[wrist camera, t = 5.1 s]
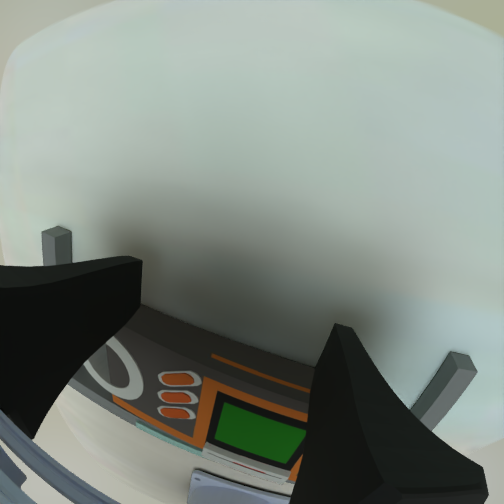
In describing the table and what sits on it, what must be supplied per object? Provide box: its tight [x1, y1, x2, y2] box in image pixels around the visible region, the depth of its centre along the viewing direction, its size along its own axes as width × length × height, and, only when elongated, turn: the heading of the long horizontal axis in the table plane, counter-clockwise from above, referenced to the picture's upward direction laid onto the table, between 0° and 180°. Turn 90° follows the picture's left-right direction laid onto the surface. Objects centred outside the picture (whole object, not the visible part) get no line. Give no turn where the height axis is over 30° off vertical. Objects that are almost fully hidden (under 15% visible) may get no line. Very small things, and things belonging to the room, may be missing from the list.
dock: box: [42, 226, 477, 484], centre depth 13 cm, size 10×21×2 cm, turn 77°
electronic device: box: [84, 304, 315, 485], centre depth 13 cm, size 7×3×15 cm
